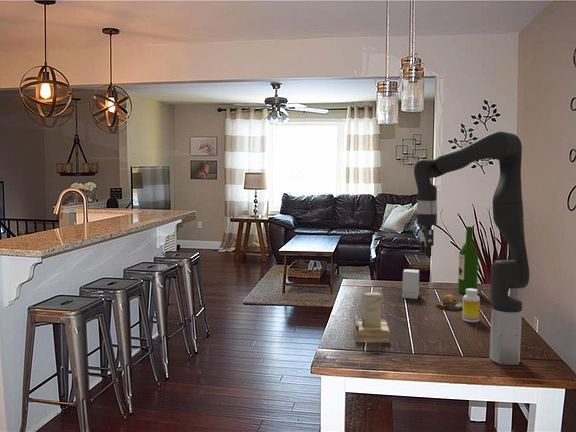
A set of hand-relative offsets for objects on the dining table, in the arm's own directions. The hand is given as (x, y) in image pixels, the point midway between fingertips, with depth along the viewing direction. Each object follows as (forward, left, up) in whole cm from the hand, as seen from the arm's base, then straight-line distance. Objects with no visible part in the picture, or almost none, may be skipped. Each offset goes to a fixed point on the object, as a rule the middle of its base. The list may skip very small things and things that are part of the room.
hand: (425, 254), depth 209 cm
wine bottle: (+61, -31, -30) cm, 74 cm away
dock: (-9, +21, -29) cm, 37 cm away
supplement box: (+51, -2, -30) cm, 59 cm away
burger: (+34, -17, -30) cm, 48 cm away
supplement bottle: (+14, -21, -30) cm, 39 cm away
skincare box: (-9, +21, -26) cm, 34 cm away
